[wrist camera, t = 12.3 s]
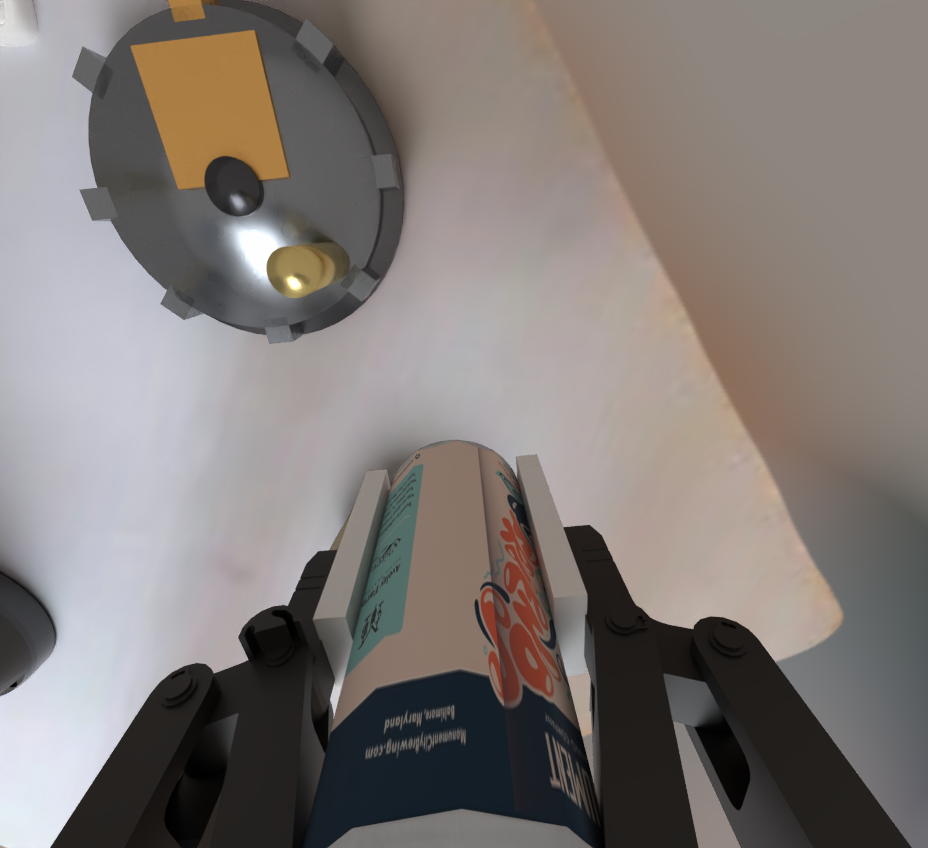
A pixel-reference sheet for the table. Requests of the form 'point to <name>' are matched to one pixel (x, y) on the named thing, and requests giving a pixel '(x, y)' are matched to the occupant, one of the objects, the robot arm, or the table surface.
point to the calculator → (17, 23)
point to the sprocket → (235, 166)
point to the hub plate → (382, 146)
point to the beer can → (455, 679)
